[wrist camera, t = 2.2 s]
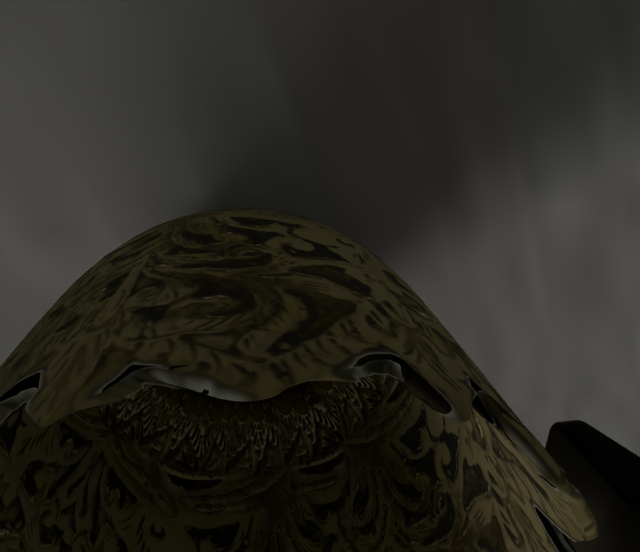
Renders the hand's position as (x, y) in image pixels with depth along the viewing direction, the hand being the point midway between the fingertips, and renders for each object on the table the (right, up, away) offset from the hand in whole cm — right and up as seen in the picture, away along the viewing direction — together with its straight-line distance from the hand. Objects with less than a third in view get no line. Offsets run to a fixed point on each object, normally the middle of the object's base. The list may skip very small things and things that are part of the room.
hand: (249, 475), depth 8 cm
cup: (-1, +3, +5) cm, 6 cm away
